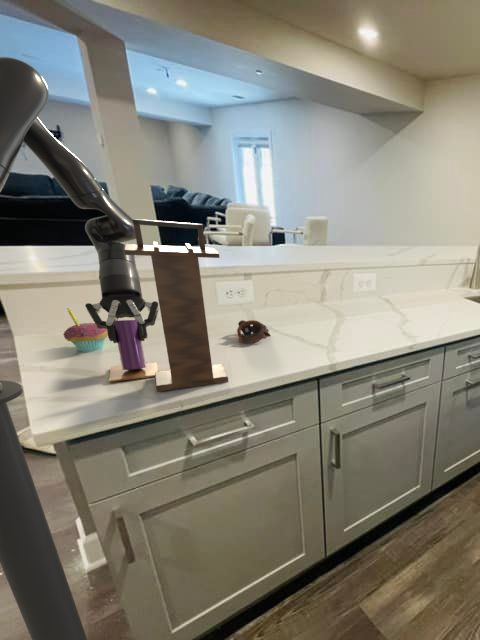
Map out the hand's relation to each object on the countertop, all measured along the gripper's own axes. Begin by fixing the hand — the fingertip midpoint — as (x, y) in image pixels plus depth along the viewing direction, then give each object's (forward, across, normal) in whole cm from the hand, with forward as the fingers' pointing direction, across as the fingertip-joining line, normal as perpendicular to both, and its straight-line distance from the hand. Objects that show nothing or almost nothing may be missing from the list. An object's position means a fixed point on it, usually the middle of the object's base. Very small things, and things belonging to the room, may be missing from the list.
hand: (128, 340), depth 94 cm
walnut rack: (+13, -11, +1) cm, 17 cm away
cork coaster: (+6, 0, -5) cm, 8 cm away
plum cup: (-1, 0, -4) cm, 4 cm away
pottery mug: (-4, -29, -16) cm, 33 cm away
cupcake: (-9, +9, -20) cm, 24 cm away
